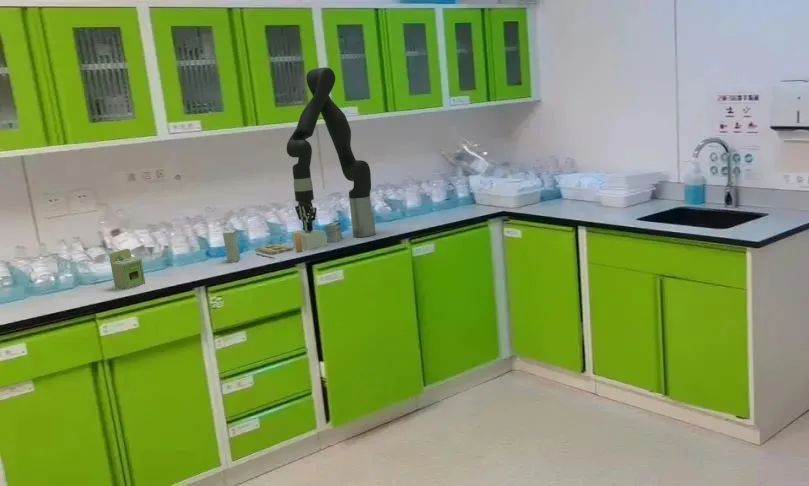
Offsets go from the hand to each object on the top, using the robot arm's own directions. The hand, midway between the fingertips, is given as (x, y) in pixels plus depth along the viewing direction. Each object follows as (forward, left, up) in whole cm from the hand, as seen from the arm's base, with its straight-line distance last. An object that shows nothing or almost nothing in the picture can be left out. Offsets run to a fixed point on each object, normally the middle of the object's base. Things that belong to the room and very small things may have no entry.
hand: (308, 230), depth 313 cm
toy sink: (+72, -9, -8) cm, 73 cm away
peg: (+8, +5, -8) cm, 12 cm away
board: (0, 0, -8) cm, 8 cm away
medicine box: (-13, -1, -8) cm, 16 cm away
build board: (+13, -7, -8) cm, 17 cm away
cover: (0, 0, -7) cm, 7 cm away
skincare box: (+29, -12, -8) cm, 32 cm away
